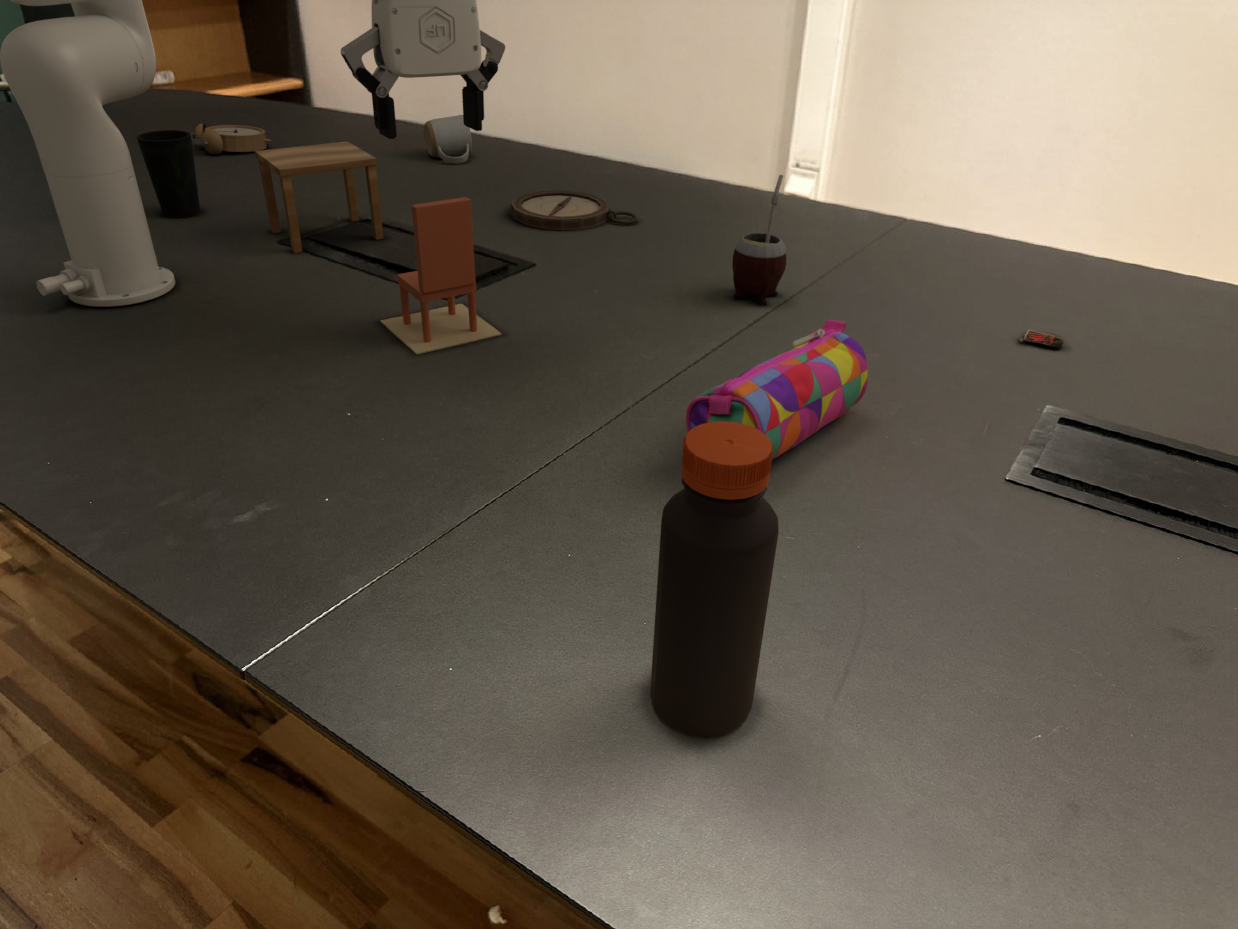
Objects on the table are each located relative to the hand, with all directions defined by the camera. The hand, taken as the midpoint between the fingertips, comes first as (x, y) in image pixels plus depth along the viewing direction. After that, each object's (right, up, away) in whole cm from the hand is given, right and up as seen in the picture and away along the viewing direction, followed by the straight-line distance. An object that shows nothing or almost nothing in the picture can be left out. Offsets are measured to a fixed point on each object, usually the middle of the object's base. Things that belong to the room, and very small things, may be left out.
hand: (431, 132), depth 95 cm
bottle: (+25, -51, -35) cm, 67 cm away
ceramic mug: (-14, +26, +85) cm, 90 cm away
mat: (-2, -19, +14) cm, 24 cm away
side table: (-25, 0, +43) cm, 50 cm away
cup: (-51, +5, +50) cm, 72 cm away
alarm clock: (-59, +28, +86) cm, 108 cm away
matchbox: (+73, -20, +17) cm, 77 cm away
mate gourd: (+38, -12, +27) cm, 48 cm away
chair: (-2, -18, +14) cm, 23 cm away
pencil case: (+36, -32, -5) cm, 48 cm away
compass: (+11, +6, +54) cm, 56 cm away
